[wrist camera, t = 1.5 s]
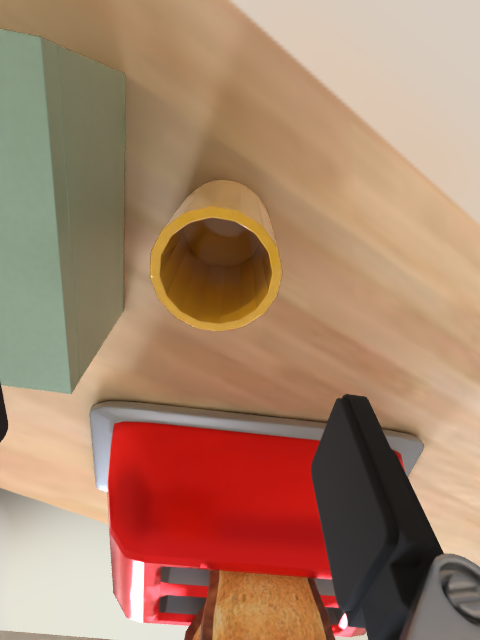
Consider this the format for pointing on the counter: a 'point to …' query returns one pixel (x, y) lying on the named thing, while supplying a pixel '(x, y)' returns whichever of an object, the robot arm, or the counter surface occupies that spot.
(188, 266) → the cup
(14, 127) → the shelf
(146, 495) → the toaster
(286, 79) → the counter surface
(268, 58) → the counter surface
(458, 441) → the counter surface
